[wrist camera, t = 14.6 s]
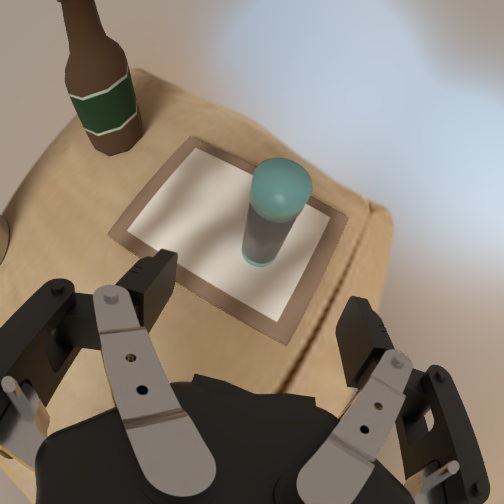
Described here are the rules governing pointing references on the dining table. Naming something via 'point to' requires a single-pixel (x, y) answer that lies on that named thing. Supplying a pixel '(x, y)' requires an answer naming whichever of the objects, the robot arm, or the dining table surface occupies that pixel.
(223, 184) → the writing board
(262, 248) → the teal-capped glass tube
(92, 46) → the beer bottle
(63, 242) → the dining table surface
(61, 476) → the robot arm
